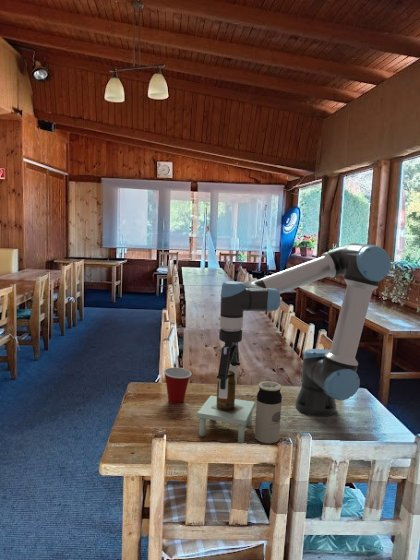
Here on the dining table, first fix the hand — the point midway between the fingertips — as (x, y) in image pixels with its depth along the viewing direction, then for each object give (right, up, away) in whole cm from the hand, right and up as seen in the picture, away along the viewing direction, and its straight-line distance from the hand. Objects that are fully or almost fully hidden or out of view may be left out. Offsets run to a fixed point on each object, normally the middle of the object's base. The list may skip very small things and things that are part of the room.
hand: (228, 390), depth 149 cm
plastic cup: (-19, -10, +24) cm, 33 cm away
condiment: (0, -6, 0) cm, 6 cm away
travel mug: (+13, -15, -3) cm, 20 cm away
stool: (-1, -14, +2) cm, 14 cm away
